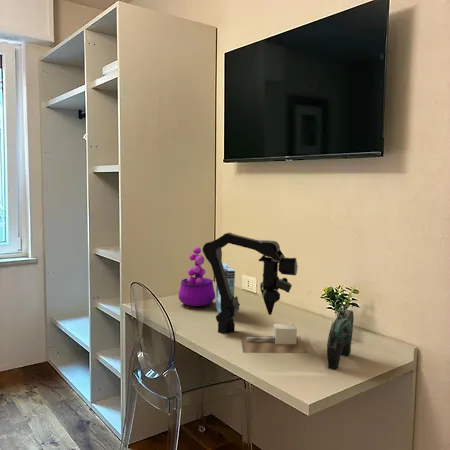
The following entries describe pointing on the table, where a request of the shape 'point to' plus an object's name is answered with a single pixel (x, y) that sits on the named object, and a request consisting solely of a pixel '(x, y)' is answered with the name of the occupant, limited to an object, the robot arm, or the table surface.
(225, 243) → the robot arm
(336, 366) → the dark green upright piece
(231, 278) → the gum box
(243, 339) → the cleat board
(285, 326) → the notched block
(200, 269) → the decorative plant
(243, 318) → the table surface
